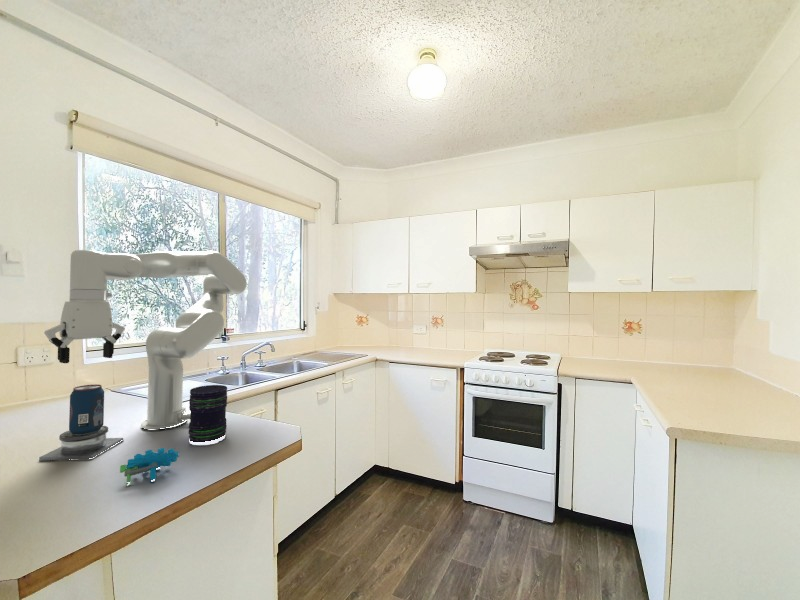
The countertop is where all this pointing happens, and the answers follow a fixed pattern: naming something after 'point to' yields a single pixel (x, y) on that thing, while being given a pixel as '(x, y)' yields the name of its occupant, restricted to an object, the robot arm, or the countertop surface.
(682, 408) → the countertop surface
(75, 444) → the puck on square plate
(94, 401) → the soda can
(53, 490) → the countertop surface
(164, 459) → the blue toy dinosaur
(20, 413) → the countertop surface
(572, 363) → the countertop surface
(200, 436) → the storage jar
